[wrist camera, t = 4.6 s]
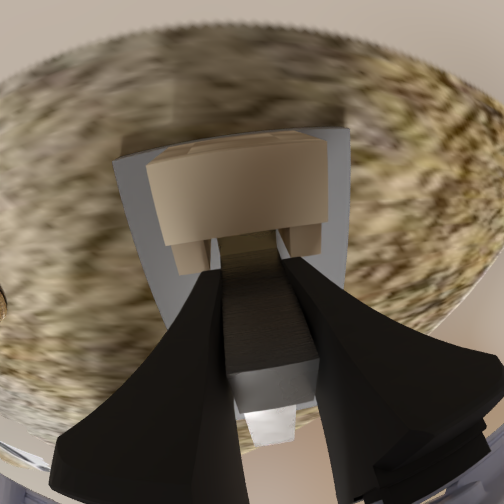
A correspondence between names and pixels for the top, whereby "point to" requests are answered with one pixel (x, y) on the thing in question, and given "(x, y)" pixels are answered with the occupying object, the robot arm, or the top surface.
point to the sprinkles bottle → (2, 308)
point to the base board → (162, 259)
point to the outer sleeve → (272, 425)
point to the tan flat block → (263, 327)
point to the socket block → (240, 193)
